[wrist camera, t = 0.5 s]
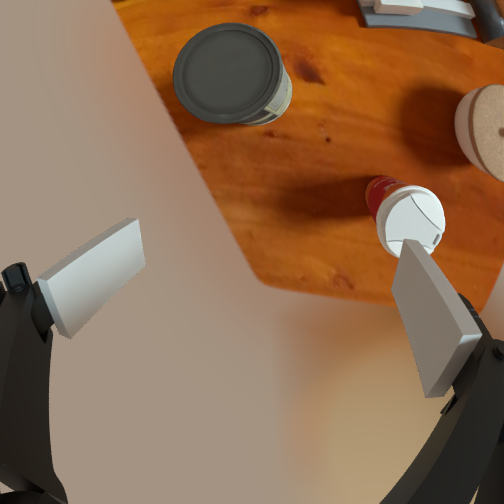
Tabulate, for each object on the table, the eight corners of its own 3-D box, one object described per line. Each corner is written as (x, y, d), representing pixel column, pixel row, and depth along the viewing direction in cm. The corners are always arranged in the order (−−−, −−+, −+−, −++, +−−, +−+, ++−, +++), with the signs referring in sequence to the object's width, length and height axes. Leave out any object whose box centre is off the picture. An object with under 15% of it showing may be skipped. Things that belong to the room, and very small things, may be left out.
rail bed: (348, -19, 22) (350, -28, 19) (455, -7, 17) (462, -13, 14) (366, 28, 25) (370, 20, 23) (473, 38, 20) (482, 34, 18)
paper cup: (416, 183, 33) (461, 211, 21) (393, 229, 37) (425, 275, 24) (369, 157, 34) (400, 173, 21) (347, 206, 37) (364, 246, 25)
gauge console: (461, -10, 16) (478, -24, 10) (490, -1, 14) (508, -11, 8) (483, 43, 20) (505, 35, 14) (510, 51, 18) (533, 45, 12)
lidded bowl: (426, 122, 29) (463, 122, 19) (468, 74, 24) (508, 64, 14) (473, 187, 31) (513, 207, 21) (511, 138, 25) (553, 147, 15)
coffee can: (251, 140, 36) (218, 146, 24) (204, 90, 34) (153, 76, 22) (309, 94, 32) (307, 73, 19) (258, 44, 30) (230, 4, 17)
